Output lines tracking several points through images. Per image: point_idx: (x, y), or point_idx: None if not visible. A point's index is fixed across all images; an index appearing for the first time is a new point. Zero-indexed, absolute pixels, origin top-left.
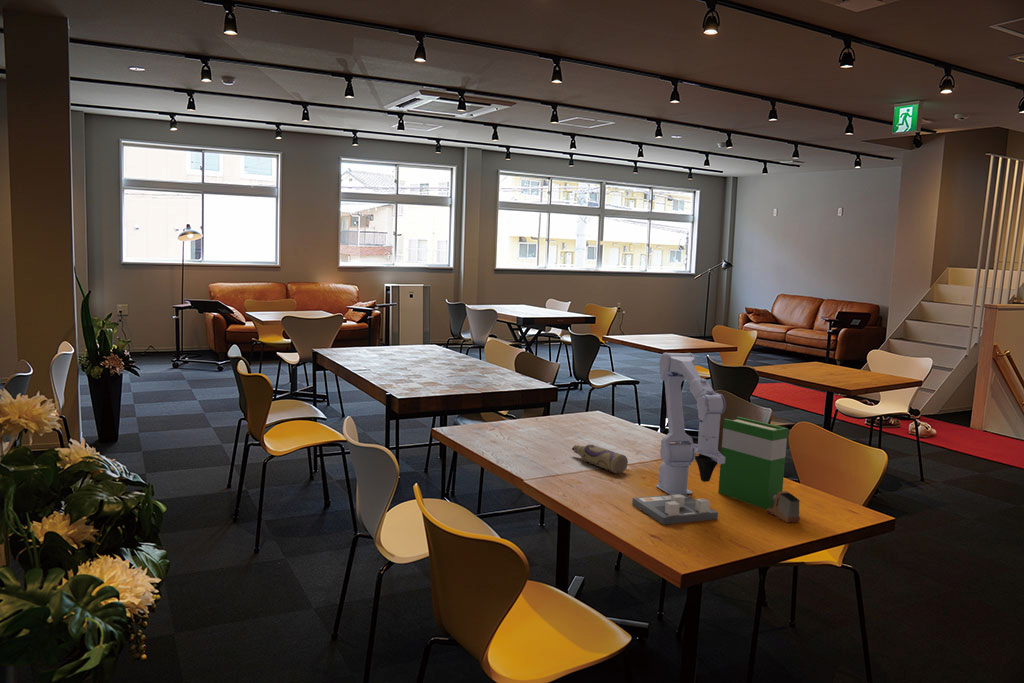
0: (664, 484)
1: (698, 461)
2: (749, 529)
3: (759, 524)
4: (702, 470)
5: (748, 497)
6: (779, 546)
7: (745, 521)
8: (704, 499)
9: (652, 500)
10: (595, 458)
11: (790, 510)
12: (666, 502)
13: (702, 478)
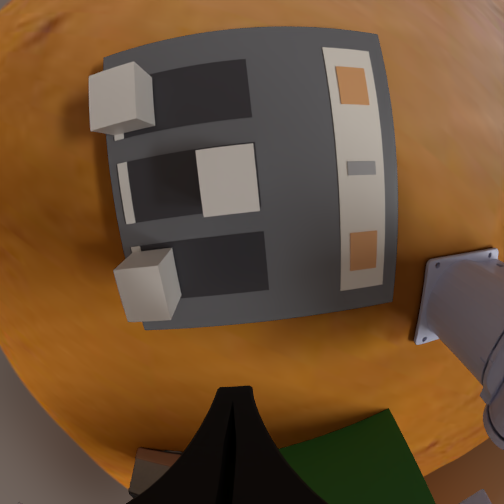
0: (481, 265)
1: (252, 502)
2: (77, 356)
3: (120, 400)
4: (209, 446)
5: (293, 457)
6: (3, 347)
7: (139, 383)
8: (156, 311)
9: (335, 94)
10: None
11: (133, 473)
12: (126, 64)
13: (223, 399)
